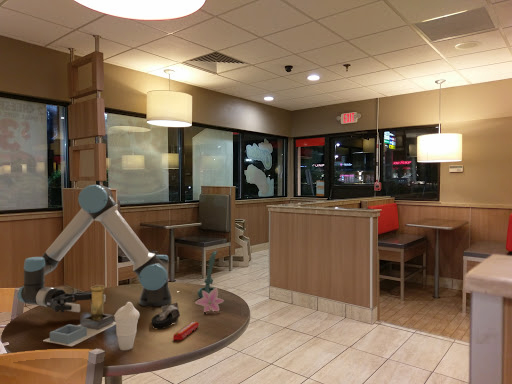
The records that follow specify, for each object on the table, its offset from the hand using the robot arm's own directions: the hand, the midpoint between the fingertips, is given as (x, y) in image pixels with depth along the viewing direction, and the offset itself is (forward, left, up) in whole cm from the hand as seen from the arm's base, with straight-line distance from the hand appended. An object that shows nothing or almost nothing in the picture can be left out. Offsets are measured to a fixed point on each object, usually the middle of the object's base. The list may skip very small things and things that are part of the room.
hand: (92, 303), depth 144 cm
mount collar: (-2, +1, -8) cm, 9 cm away
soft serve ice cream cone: (-15, +23, -10) cm, 29 cm away
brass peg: (-2, +1, -8) cm, 9 cm away
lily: (-48, -10, -10) cm, 49 cm away
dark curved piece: (-48, -28, -10) cm, 57 cm away
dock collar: (+6, +13, -8) cm, 16 cm away
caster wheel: (-28, +3, -10) cm, 30 cm away
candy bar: (-36, +14, -10) cm, 40 cm away
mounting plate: (+2, +7, -9) cm, 12 cm away
